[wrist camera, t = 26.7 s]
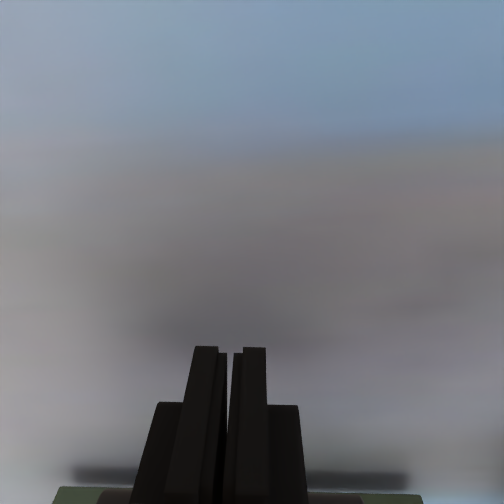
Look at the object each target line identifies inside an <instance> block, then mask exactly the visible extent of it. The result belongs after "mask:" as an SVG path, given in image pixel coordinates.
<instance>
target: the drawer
mask: <svg viewBox="0 0 504 504" xmlns="http://www.w3.org/2000/svg"><path fill="white" fill-rule="evenodd" d="M132 490H133V488H111V487H68V486H62V487H60V488H59V490H58V492H57V494H56V496H55V499H54V501H53V503H52V504H129V501H130V497H131V493H132ZM308 501H309V504H423V501H422V498H421V496H420V495H410V494H368V493H325V492H308ZM222 504H223V503H222Z"/></svg>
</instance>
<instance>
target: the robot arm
mask: <svg viewBox="0 0 504 504" xmlns="http://www.w3.org/2000/svg"><path fill="white" fill-rule="evenodd" d="M222 503H223V504H309V501H308V492H307V483H306V473H305V464H304V455H303V446H302V436H301V427H300V418H299V410H298V406H297V405H267V389H266V348H261V347H243V353H234V358H233V370H232V382H231V394H230V406H229V419H228V431H227V353H219V348H218V346H195V349H194V353H193V358H192V363H191V367H190V372H189V377H188V381H187V386H186V391H185V396H184V400H183V402H159V403H158V404H157V406H156V409H155V413H154V416H153V420H152V423H151V427H150V430H149V434H148V437H147V441H146V444H145V448H144V451H143V455H142V458H141V462H140V465H139V469H138V472H137V476H136V479H135V483H134V486H133V490H132V493H131V497H130V501H129V504H222Z"/></svg>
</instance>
